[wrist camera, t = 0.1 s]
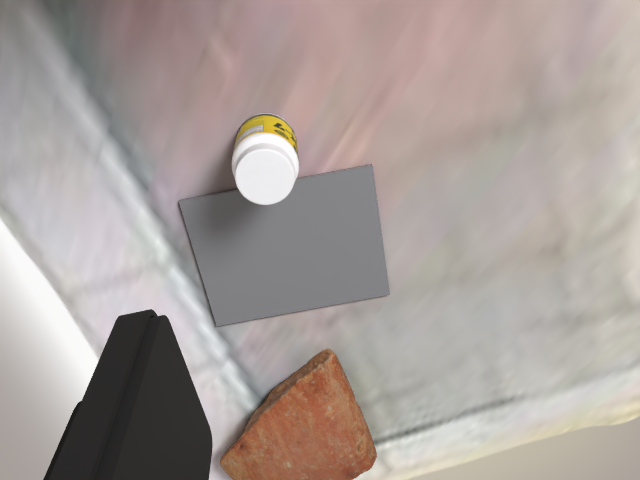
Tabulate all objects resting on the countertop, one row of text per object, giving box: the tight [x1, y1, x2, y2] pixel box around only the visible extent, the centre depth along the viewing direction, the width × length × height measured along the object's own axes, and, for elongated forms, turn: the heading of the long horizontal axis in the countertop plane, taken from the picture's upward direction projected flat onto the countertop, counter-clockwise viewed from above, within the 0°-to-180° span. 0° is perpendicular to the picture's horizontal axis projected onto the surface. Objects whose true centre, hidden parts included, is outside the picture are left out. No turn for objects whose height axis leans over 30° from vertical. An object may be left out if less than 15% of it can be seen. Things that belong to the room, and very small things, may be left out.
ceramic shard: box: [220, 349, 377, 480], centre depth 58 cm, size 15×6×15 cm
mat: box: [179, 164, 390, 326], centre depth 50 cm, size 12×16×1 cm
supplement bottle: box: [232, 113, 299, 205], centre depth 42 cm, size 5×5×8 cm
